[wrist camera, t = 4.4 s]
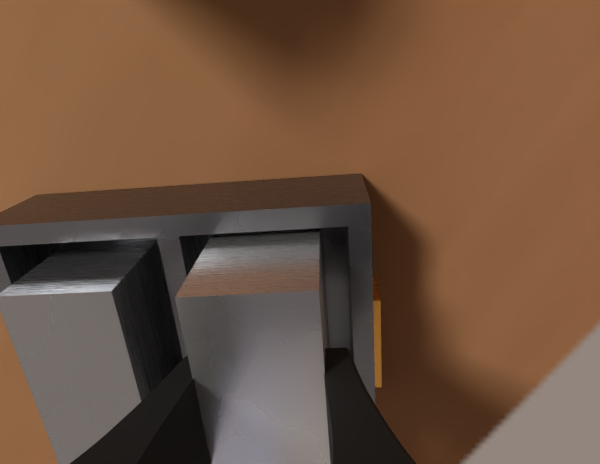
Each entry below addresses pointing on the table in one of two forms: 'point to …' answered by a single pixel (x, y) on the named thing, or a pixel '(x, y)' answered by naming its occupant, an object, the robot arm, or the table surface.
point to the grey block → (259, 346)
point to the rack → (158, 286)
